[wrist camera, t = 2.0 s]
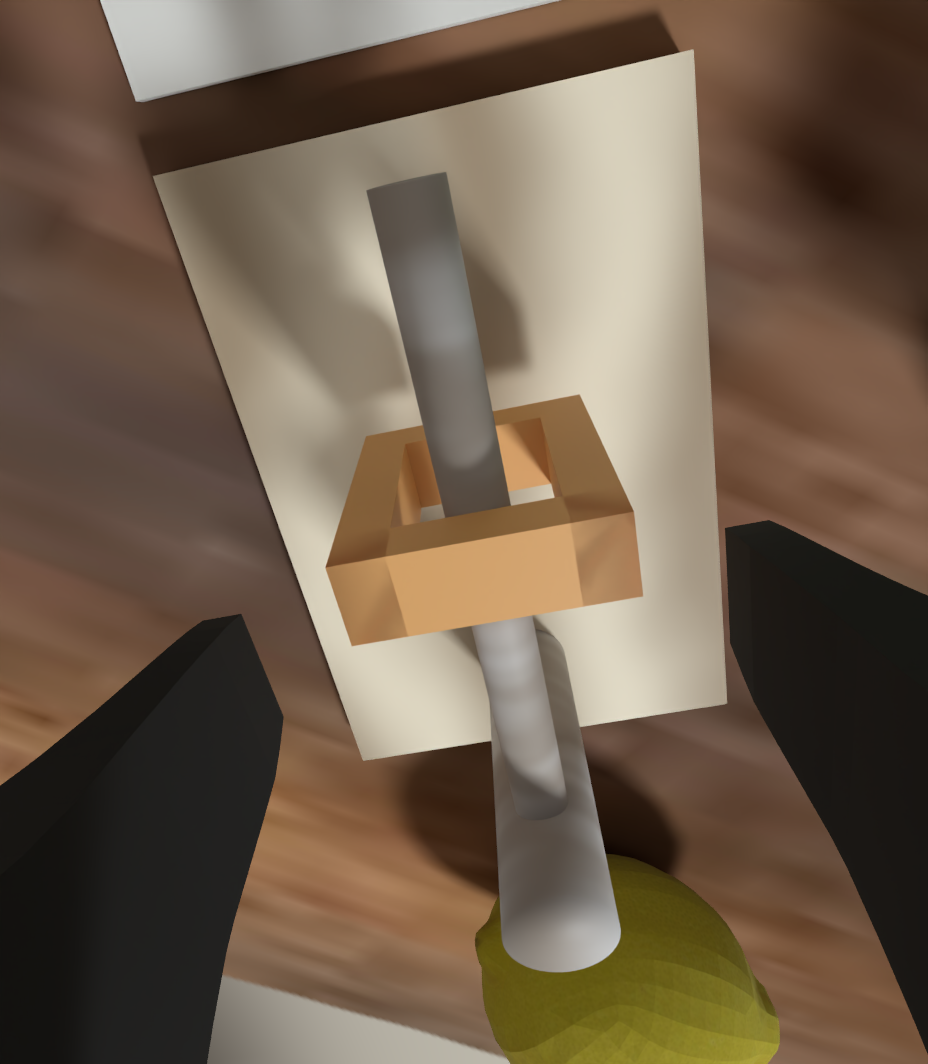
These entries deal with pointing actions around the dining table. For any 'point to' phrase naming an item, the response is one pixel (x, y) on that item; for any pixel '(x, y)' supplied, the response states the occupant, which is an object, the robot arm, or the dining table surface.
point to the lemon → (635, 987)
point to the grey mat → (266, 34)
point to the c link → (484, 532)
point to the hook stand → (488, 418)
